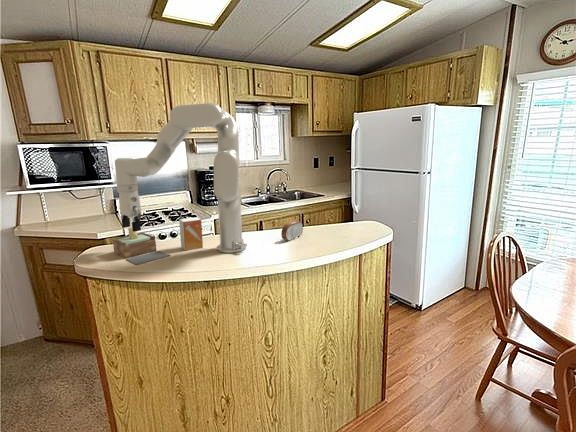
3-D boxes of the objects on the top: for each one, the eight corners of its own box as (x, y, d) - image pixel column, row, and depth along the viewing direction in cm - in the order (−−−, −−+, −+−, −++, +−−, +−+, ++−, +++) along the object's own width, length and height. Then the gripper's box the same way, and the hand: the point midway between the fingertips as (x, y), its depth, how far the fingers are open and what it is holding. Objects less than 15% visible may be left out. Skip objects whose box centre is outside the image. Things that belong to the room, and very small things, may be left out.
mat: (170, 255, 132) (170, 255, 132) (136, 265, 122) (136, 264, 122) (159, 251, 138) (159, 250, 138) (125, 259, 128) (125, 259, 127)
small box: (185, 251, 138) (182, 221, 135) (181, 247, 143) (178, 219, 140) (203, 247, 142) (201, 219, 140) (198, 244, 147) (196, 216, 145)
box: (156, 250, 138) (155, 236, 137) (125, 258, 129) (123, 243, 127) (144, 246, 145) (142, 232, 144) (114, 253, 136) (112, 238, 134)
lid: (150, 239, 138) (149, 227, 137) (125, 245, 130) (123, 232, 129) (142, 236, 143) (140, 224, 142) (116, 241, 135) (115, 229, 134)
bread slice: (298, 235, 162) (298, 218, 160) (304, 235, 160) (304, 219, 158) (280, 242, 150) (280, 224, 148) (286, 243, 148) (286, 225, 146)
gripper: (146, 189, 129) (150, 230, 133) (127, 186, 140) (131, 224, 143) (127, 191, 123) (131, 234, 127) (109, 187, 134) (113, 227, 138)
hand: (131, 228), depth 135 cm, fingers open, 9 cm apart
